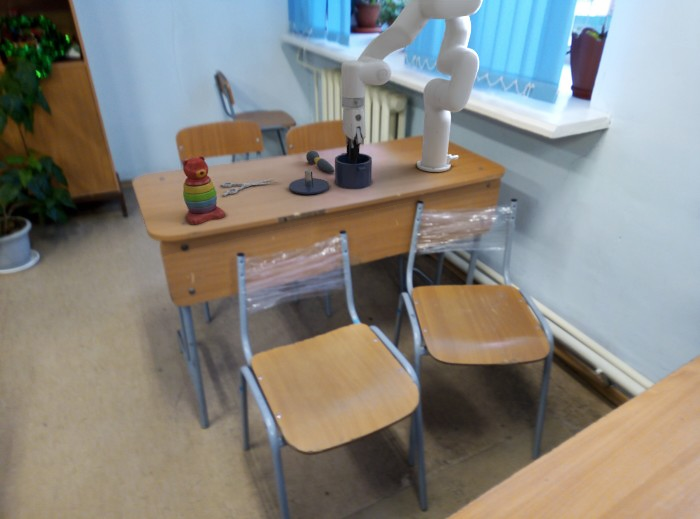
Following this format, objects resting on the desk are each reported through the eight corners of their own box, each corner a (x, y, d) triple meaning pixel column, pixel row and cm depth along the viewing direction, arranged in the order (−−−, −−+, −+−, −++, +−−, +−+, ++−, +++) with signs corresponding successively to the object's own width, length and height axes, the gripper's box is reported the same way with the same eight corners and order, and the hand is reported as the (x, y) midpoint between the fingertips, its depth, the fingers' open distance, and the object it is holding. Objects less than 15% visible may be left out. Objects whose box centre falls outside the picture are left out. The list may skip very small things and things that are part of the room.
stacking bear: (192, 226, 138) (180, 166, 129) (180, 214, 145) (169, 157, 136) (227, 217, 143) (219, 159, 134) (214, 205, 151) (206, 150, 142)
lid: (322, 179, 171) (321, 162, 168) (334, 192, 160) (334, 174, 157) (285, 184, 167) (283, 166, 164) (295, 198, 156) (293, 180, 153)
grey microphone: (341, 172, 176) (341, 159, 174) (330, 175, 174) (330, 162, 171) (311, 159, 190) (311, 147, 187) (301, 162, 187) (300, 149, 185)
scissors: (216, 183, 165) (272, 174, 172) (216, 185, 165) (272, 176, 173) (223, 194, 157) (281, 184, 164) (223, 196, 157) (281, 186, 164)
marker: (355, 162, 166) (355, 127, 160) (358, 165, 164) (358, 129, 158) (347, 163, 165) (347, 128, 159) (350, 166, 163) (350, 130, 157)
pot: (360, 171, 177) (360, 149, 173) (380, 188, 163) (380, 164, 158) (328, 175, 173) (327, 153, 169) (345, 193, 159) (344, 169, 155)
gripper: (373, 106, 149) (372, 163, 158) (355, 96, 162) (354, 149, 171) (351, 108, 147) (350, 166, 156) (334, 98, 160) (334, 152, 169)
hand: (352, 157), depth 163 cm, fingers closed on marker, 2 cm apart
